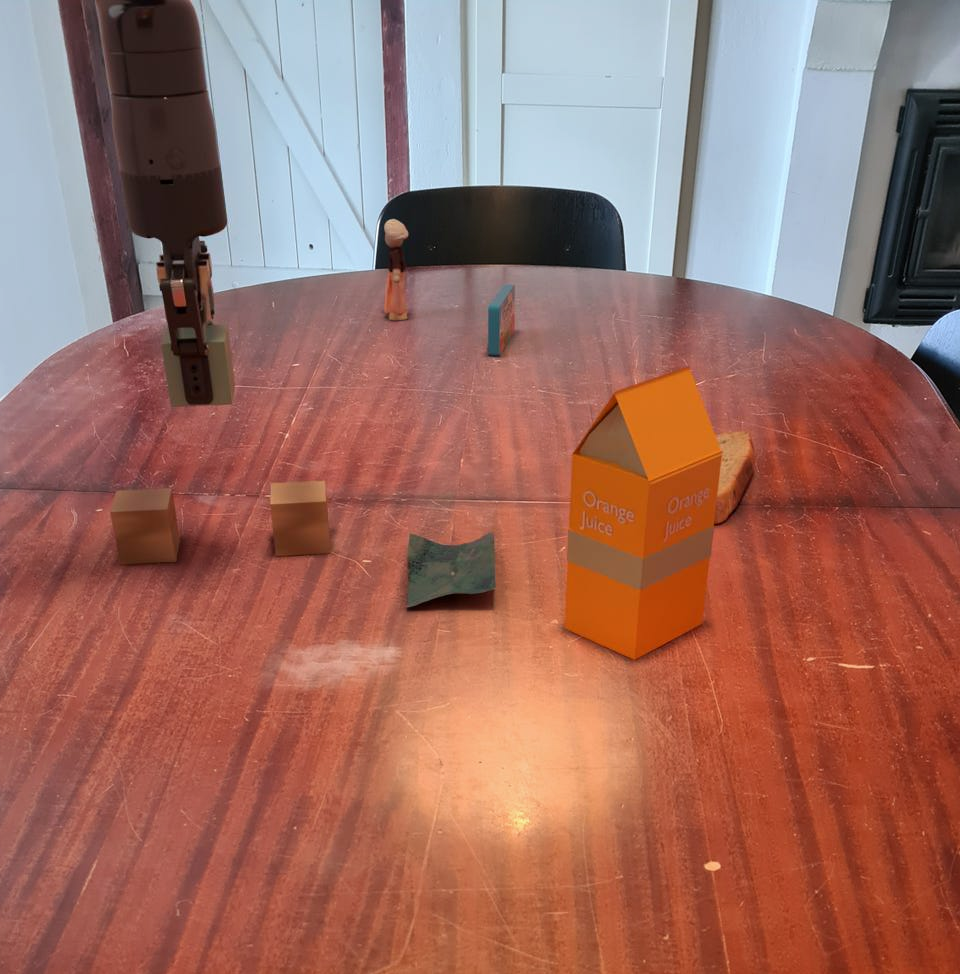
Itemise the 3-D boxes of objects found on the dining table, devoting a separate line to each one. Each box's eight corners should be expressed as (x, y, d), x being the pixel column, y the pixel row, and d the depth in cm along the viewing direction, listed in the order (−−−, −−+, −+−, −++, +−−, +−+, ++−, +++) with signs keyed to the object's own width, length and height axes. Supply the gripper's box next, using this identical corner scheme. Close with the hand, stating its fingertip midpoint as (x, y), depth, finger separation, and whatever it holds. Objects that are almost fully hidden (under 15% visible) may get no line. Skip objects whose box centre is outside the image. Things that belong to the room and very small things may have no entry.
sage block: (170, 407, 101) (160, 343, 98) (176, 388, 105) (166, 326, 102) (232, 404, 101) (224, 341, 98) (235, 385, 105) (227, 324, 102)
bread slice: (695, 531, 117) (700, 493, 115) (580, 473, 129) (582, 437, 126) (830, 491, 125) (836, 454, 122) (710, 439, 137) (714, 405, 134)
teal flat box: (503, 331, 171) (504, 283, 167) (514, 331, 171) (514, 283, 167) (488, 356, 162) (488, 306, 158) (499, 356, 161) (499, 306, 158)
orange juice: (703, 624, 102) (733, 376, 90) (634, 660, 97) (656, 404, 85) (631, 594, 107) (650, 353, 94) (562, 627, 102) (572, 379, 89)
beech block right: (275, 556, 113) (269, 503, 110) (276, 534, 117) (270, 482, 114) (330, 553, 113) (326, 501, 110) (329, 531, 117) (325, 480, 114)
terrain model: (497, 608, 104) (496, 587, 103) (405, 612, 104) (403, 592, 103) (494, 545, 114) (493, 526, 113) (411, 550, 114) (409, 530, 113)
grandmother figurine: (381, 310, 179) (376, 214, 172) (407, 309, 180) (403, 213, 172) (387, 325, 174) (383, 226, 166) (414, 323, 174) (411, 224, 166)
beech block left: (120, 564, 112) (109, 511, 109) (126, 542, 116) (116, 490, 113) (176, 561, 112) (167, 509, 109) (180, 539, 116) (171, 487, 113)
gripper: (129, 147, 98) (165, 368, 108) (106, 180, 87) (148, 423, 97) (225, 145, 98) (251, 364, 109) (214, 177, 87) (244, 419, 98)
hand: (202, 391), depth 103 cm, fingers closed on sage block, 5 cm apart
